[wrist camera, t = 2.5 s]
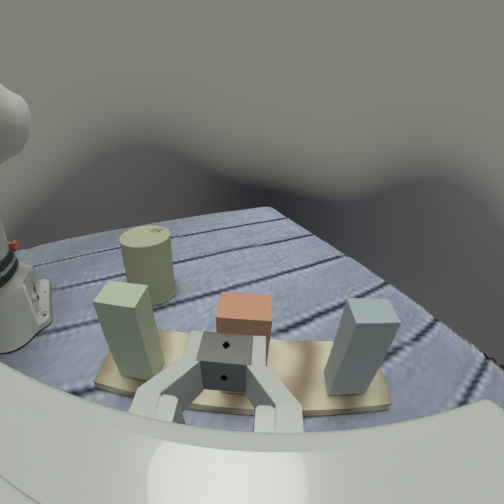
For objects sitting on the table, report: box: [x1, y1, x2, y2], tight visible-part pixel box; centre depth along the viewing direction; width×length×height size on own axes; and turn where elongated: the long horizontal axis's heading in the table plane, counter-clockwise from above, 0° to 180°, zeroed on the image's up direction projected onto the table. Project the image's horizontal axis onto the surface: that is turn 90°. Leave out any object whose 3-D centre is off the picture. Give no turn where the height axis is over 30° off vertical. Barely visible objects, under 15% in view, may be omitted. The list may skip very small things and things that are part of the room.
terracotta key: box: [216, 292, 272, 394], centre depth 29 cm, size 5×4×12 cm
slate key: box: [324, 298, 401, 395], centre depth 29 cm, size 5×4×12 cm
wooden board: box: [94, 329, 392, 416], centre depth 34 cm, size 38×12×2 cm, turn 87°
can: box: [119, 225, 176, 306], centre depth 48 cm, size 9×9×12 cm
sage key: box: [93, 281, 164, 381], centre depth 29 cm, size 5×4×12 cm
